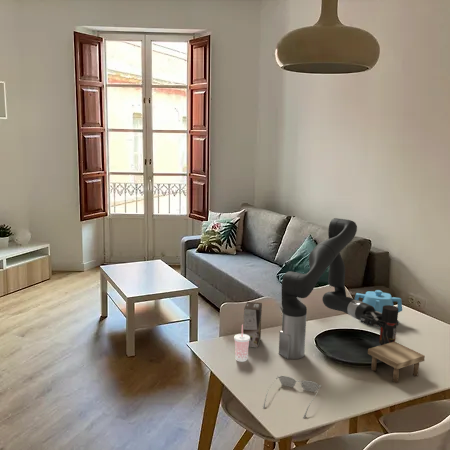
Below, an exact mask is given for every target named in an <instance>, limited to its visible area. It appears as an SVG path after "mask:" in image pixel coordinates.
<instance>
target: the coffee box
mask: <svg viewBox="0 0 450 450" xmlns="http://www.w3.org/2000/svg"><path fill="white" fill-rule="evenodd" d="M262 308H263V303H262V302H257V301H254V302H253V301H247V302H246V304H245V306H244V307H243V334H246V335H249V336H250V340H249V347H250V348H259V344H260V342H261V337H262V335H261V334H262V313H263V312H262V311H263V310H262ZM249 347H248V348H249Z"/></svg>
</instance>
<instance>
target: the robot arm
mask: <svg viewBox="0 0 450 450" xmlns="http://www.w3.org/2000/svg"><path fill="white" fill-rule="evenodd" d="M327 231H328V236H327V237H328V239H325V240H323V241H321V242H319V243H318V244H317V245H315V247H314V248H313V249H312V250H311V251H310V253H309V256H308V264H309V271H308V272H306V273H301V272H296V271H289V270H288V271H286V272H285V273H284V275H283V277H282V280H281V307H282V318H281V319H282V320H281V321H282V322H281V330H280V331H279V336H278V338H279V339H278V340H279V341H278V345H279V346H278V354H279V355H281V356H282V357H284V358H285V359H287V360H298V359H299V360H300V359H302V358H304V356H305V350H306V349H305V348H306V347H305V346H306V332H307V331H306V328H307V327H306V326H307V310H308V309H307V306H306V305H305V304H304V303H303V302H301V300H299V299H306V298H307V297H309V296H310V295H311V293H312V292H313V291H314V289H315V287H316V285H317V283H318V282H319V281H320V278H321V277H322V276H323V275H324V273H325V272H326V270H327V269H328V268H329V269H328V278H327V279H328V280H327V283H328V285H329V286H330V287H333V288H334V291H328V292H325V293H324V294H323V296H322V304H324V306H325V307H327V308H328V309H330V310H332V311H333V310H334V311H338V312H341V313H342V312H343V313H344V314H347V315H349V316H350V317H352V318H354V319H357V320H358V321H360V322H361V323H363V324H365V325H369V326H371V327H373V326H376V327H380V328H381V327H382V328H386V327H387V323H385V322H383V321H381V319H382V313H380V312H378V311H375V309H374V307H373V306H371V305H369V304H366V303H364V302H362V301H361V300H355V298H353V297H350V296H347V291H346V285H345V280H346V279H345V277H346V266H345V261H344V260H343V258H342V255H341V252H342V250H343V249H344V248H346V246H348V245H349V244H350V243H351V242H352V240H354V238H355V236H356V234H357V231H358V226H357V224H356V222H355V221H353V220H351V219H347V218H346V219H345V218H337V217H335V218H332V219H331V221H330V222H329V225H328V230H327ZM369 322H371V323H369ZM397 326H399V320H398V319H397Z"/></svg>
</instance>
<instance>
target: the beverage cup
mask: <svg viewBox="0 0 450 450" xmlns="http://www.w3.org/2000/svg"><path fill="white" fill-rule="evenodd" d="M243 328H244V323H242V324H241V333H238V334H237V333H236V334H235V335H234V337H233V340H234V351H235V360H236V361H237V362H242V363H243V362H246V361H248V356H249V340H250V336H249V335H246V334H243Z"/></svg>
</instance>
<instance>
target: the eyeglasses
mask: <svg viewBox="0 0 450 450" xmlns="http://www.w3.org/2000/svg"><path fill="white" fill-rule="evenodd" d="M277 379H279V383H280V384H281V386H285V387H289V388H294V387H295V386H296V383H300V385H301V388H302V389H303V391H307V392H312V393H316V394H315V395H314V397H313V399H311V401H310V403H309V404H308V405H307V407H306V410H305V413H304V414H303V416H302V419H303V420H305V419H306V417H307V413H308V411H309V408H310V405H311V404H312V402H313V401H314V400H315V397H316V395H317V394H318V392H319V390H320V388H321V387H322V385H321V384H318V383H317V382H315V381H310V380H302V381H300V380H296V379H295V378H293V377H290V376H287V375H280V376H278V375H277V376H276V378H275V380H277ZM274 382H275V381H273V382H272V383H271V385H270V386H269V387H268V389H267V391H266V393H265V398H264V402H263V405H262V409H263V410H265V409H266V402H267V401H266V400H267V396H268V393H269V390H270V388H271V386H272V385H273V384H274Z"/></svg>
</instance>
